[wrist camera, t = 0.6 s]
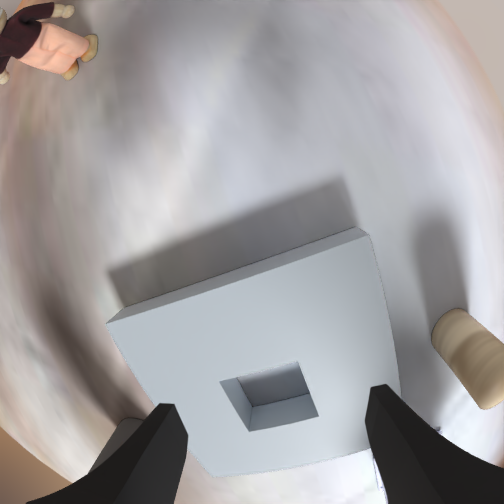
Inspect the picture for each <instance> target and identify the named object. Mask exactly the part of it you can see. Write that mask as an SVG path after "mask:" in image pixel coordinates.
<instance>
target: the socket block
mask: <svg viewBox="0 0 504 504" xmlns="http://www.w3.org/2000/svg"><path fill="white" fill-rule="evenodd" d="M105 325H106V327H107V329H108V331H109V333H110V335H111V336H112V338H113V340H114V342H115V344H116V345H117V347H118V349H119V351H120V352H121V354H122V356H123V357H124V359H125V361H126V362H127V364H128V366H129V367H130V369H131V371H132V372H133V374H134V375H135V377H136V379H137V380H138V382H139V383H140V385H141V386H142V388H143V389H144V391H145V392H146V394H147V395H148V397H149V398H150V400H151V401H152V403H153V404H154V405H155V407H156V406H157V405H158V404H159V403H171V404H175V406H176V409H177V411H178V413H179V416H180V418H181V420H182V422H183V424H184V426H185V429H186V431H187V433H188V435H189V436H188V446H187V449H188V450H189V451H190V452H191V454H192V455H193V456H194V457H195V458H196V459H197V461H198V462H199V463H200V464H201V465H202V466H203V467H204V469H205V470H206V471H207V472H208V473H209V474H210V475H211V476H212V477H226V476H239V475H249V474H258V473H265V472H272V471H279V470H285V469H291V468H296V467H301V466H306V465H311V464H315V463H320V462H324V461H328V460H332V459H336V458H339V457H343V456H347V455H350V454H354V453H357V452H360V451H363V450H366V449H369V448H371V447H370V444H369V440H368V435H367V431H366V426H365V416H366V411H367V405H368V400H369V394H370V388H371V387H373V386H378V385H382V384H387V385H388V386H389V387H390V388H391V389H392V390H393V391H394V392H395V393H396V394H397V395H398V396H399V397H400V398H401V399H402V397H401V388H400V380H399V372H398V365H397V358H396V352H395V346H394V340H393V334H392V329H391V323H390V318H389V313H388V309H387V304H386V299H385V295H384V290H383V286H382V282H381V277H380V273H379V269H378V265H377V262H376V258H375V254H374V250H373V247H372V243H371V239H370V236H369V234H367V233H366V232H364V231H362V230H361V229H359V228H357V227H354V228H351V229H348V230H345V231H342V232H340V233H337V234H334V235H331V236H329V237H326V238H323V239H320V240H318V241H315V242H312V243H309V244H306V245H304V246H301V247H298V248H295V249H292V250H290V251H287V252H284V253H281V254H278V255H275V256H273V257H270V258H267V259H264V260H261V261H258V262H256V263H253V264H250V265H247V266H244V267H241V268H239V269H236V270H233V271H230V272H227V273H224V274H221V275H218V276H216V277H213V278H210V279H207V280H204V281H201V282H198V283H195V284H192V285H190V286H187V287H184V288H181V289H178V290H175V291H172V292H169V293H166V294H163V295H160V296H157V297H155V298H152V299H149V300H146V301H143V302H140V303H137V304H134V305H131V306H128V307H125V308H123V309H122V310H121V311H120V312H119V313H117V314H116V315H115V316H114V317H113V318H112V319H110V320H109V321H108V322H107V323H106V324H105ZM294 362H298V363H299V366H300V368H301V371H302V373H303V376H304V379H305V381H306V384H307V386H308V389H309V391H310V393H309V394H306V395H302V396H298V397H294V398H290V399H286V400H282V401H278V402H274V403H270V404H265V405H260V406H256V407H252V405H251V404H250V402H249V400H248V398H247V396H246V394H245V393H244V391H243V389H242V387H241V385H240V383H239V381H238V380H237V378H236V377H241V376H245V375H249V374H253V373H257V372H261V371H265V370H269V369H273V368H277V367H280V366H284V365H287V364H291V363H294Z"/></svg>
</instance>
